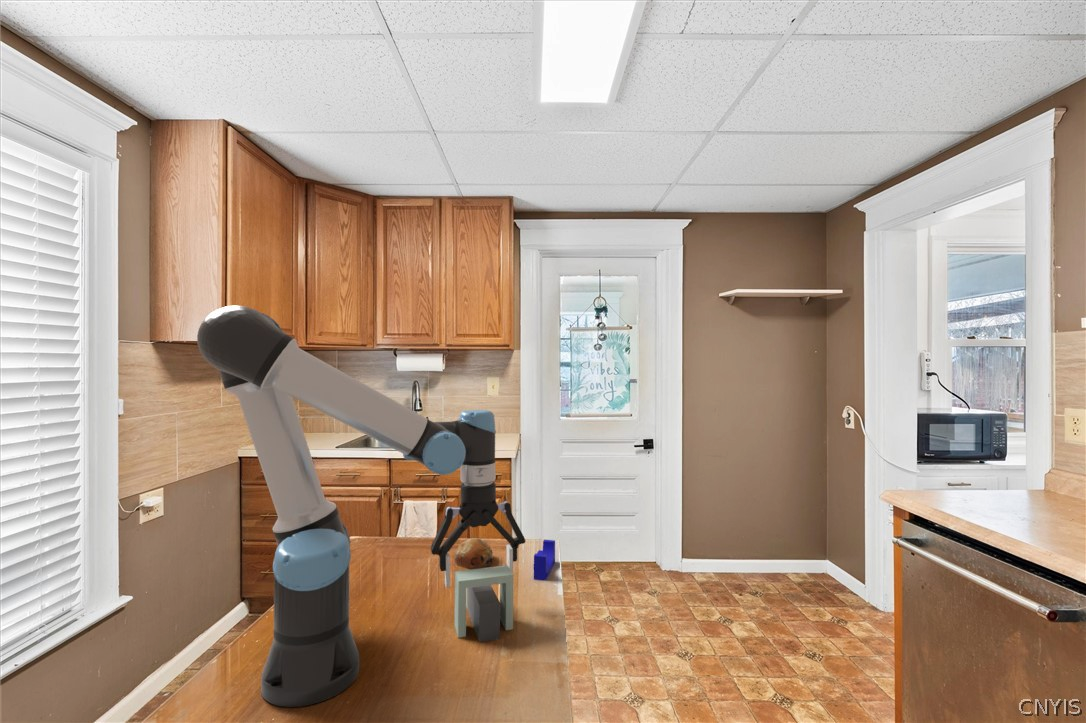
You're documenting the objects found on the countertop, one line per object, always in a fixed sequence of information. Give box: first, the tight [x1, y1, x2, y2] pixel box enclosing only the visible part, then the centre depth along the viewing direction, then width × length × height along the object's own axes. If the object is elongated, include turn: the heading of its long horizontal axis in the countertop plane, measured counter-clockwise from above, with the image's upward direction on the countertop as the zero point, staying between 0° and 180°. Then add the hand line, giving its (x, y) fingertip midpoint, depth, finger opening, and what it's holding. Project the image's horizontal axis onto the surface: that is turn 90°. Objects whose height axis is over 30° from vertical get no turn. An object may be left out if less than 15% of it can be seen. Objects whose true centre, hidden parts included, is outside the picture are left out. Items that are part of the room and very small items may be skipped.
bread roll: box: [453, 537, 494, 570], centre depth 139 cm, size 10×10×8 cm
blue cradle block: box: [533, 539, 556, 582], centre depth 133 cm, size 12×4×6 cm, turn 168°
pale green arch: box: [453, 564, 514, 639], centre depth 104 cm, size 11×5×11 cm, turn 108°
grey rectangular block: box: [466, 585, 501, 643], centre depth 107 cm, size 4×16×7 cm, turn 18°
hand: (479, 580), depth 111 cm, fingers open, 13 cm apart
